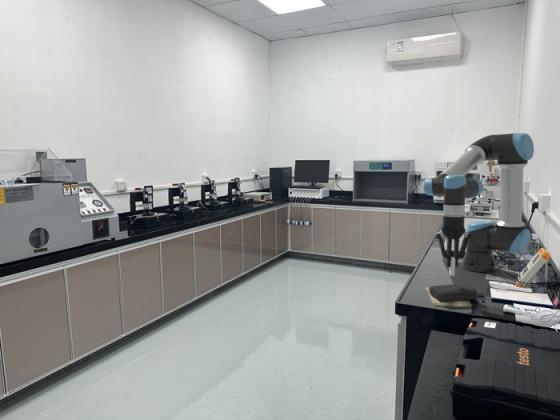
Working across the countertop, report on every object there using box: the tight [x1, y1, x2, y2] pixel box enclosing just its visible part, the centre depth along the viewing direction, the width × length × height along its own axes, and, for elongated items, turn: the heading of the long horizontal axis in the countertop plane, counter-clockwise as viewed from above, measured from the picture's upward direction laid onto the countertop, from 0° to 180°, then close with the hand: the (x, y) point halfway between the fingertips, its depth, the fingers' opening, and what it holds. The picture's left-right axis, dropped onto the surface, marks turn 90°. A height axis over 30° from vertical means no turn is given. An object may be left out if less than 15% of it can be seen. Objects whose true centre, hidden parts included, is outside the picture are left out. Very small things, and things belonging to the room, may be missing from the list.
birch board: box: [425, 286, 472, 308], centre depth 153 cm, size 13×18×1 cm
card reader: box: [429, 283, 478, 302], centre depth 150 cm, size 9×4×15 cm
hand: (451, 274), depth 151 cm, fingers closed
